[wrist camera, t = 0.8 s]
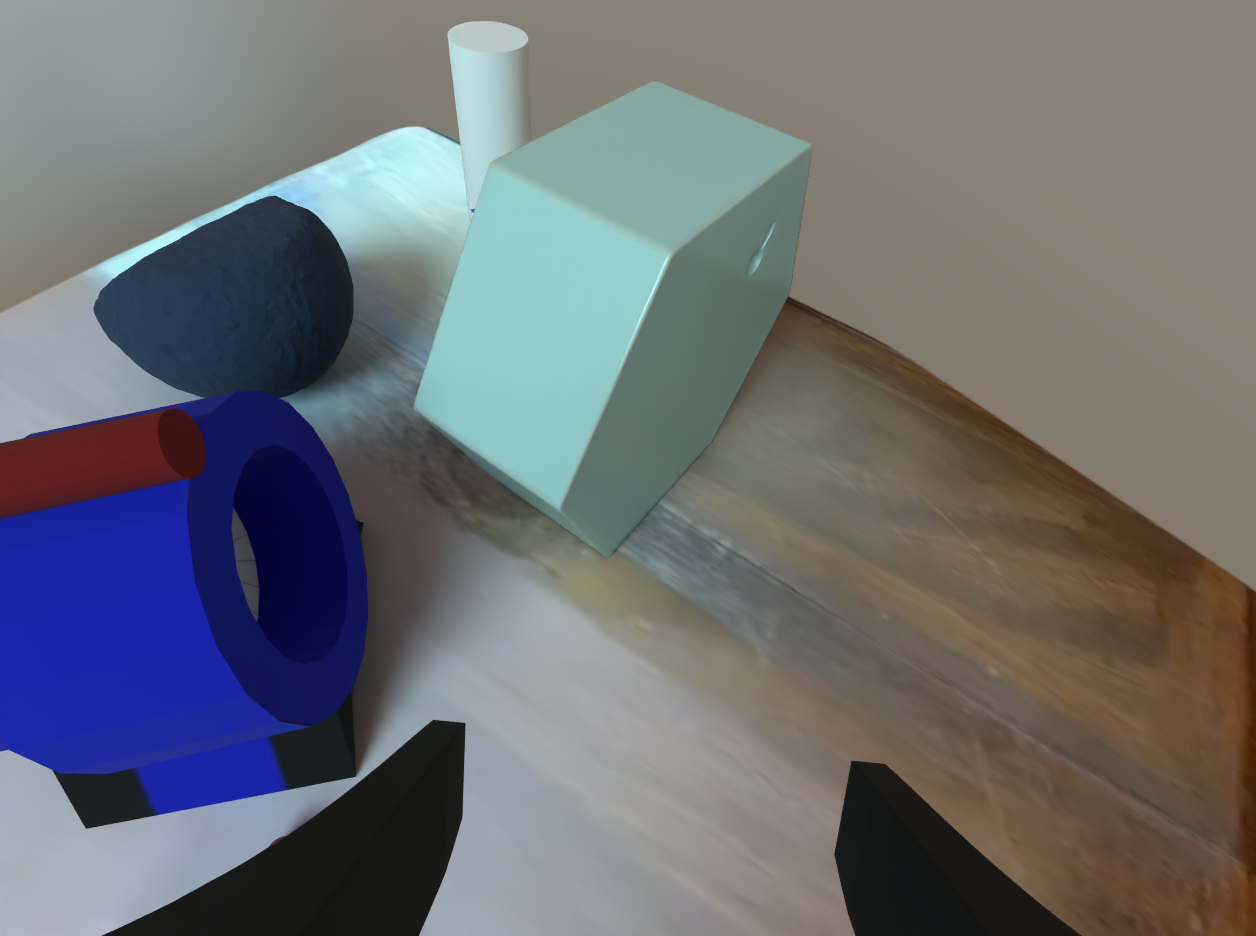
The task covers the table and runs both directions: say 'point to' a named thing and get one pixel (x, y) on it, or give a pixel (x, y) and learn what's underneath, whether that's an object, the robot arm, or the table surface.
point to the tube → (489, 96)
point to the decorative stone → (236, 304)
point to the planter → (615, 303)
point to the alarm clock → (179, 607)
